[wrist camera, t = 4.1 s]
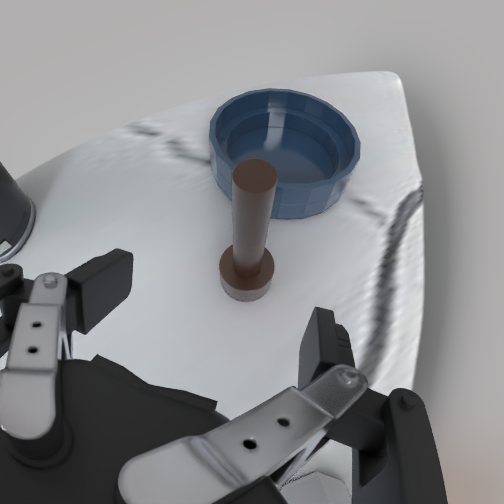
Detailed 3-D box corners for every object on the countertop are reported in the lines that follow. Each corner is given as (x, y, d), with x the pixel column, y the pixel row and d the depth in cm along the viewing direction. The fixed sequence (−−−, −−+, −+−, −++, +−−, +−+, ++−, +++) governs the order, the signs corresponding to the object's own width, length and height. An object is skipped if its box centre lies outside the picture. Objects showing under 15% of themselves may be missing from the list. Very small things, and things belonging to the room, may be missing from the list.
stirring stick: (214, 294, 26) (195, 199, 13) (229, 250, 28) (225, 135, 15) (263, 307, 25) (290, 223, 13) (275, 262, 27) (307, 154, 15)
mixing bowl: (191, 201, 30) (184, 165, 25) (235, 113, 36) (236, 79, 31) (337, 239, 29) (356, 209, 24) (348, 140, 35) (361, 109, 30)
